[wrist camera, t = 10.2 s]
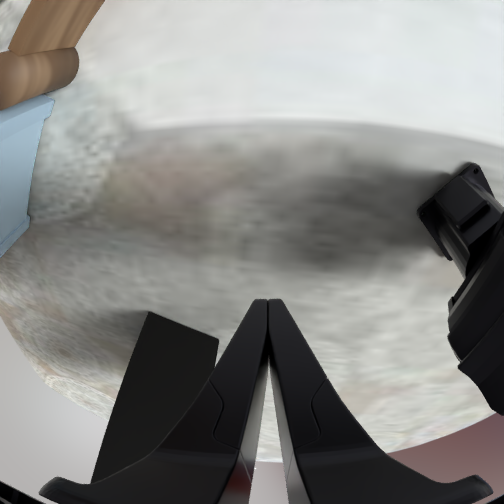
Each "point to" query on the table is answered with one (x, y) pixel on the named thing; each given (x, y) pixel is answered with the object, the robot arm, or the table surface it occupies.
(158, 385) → the black pillar candle
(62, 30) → the pen fence
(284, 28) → the table surface
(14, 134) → the gate
